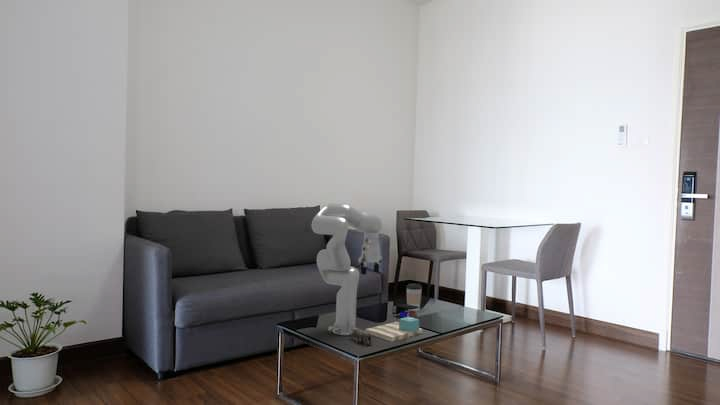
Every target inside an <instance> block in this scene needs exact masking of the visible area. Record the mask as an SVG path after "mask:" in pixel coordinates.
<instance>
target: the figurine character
mask: <svg viewBox="0 0 720 405" xmlns="http://www.w3.org/2000/svg"><path fill="white" fill-rule="evenodd" d="M416 308H419V307H417V306H412V305H408V304H407V303H401V304H396V305H395V306H392V307H391V311H392V313H394V314H395V316H396V317H397V316H398V317H397V318H405V317H412V318H416V319H417V317H418V314H417V311H409V310H412V309H416ZM407 309H409V310H408V311H406V310H407Z"/></svg>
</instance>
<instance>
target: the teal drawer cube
mask: <svg viewBox="0 0 720 405" xmlns="http://www.w3.org/2000/svg"><path fill="white" fill-rule="evenodd" d="M398 320H399V321H398V322H399V329H400V330H403V331H407V332H413V331H417V330H419V328H420V318H419V319H418V318H417V317H416V318H412V317H400V318H398Z"/></svg>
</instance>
